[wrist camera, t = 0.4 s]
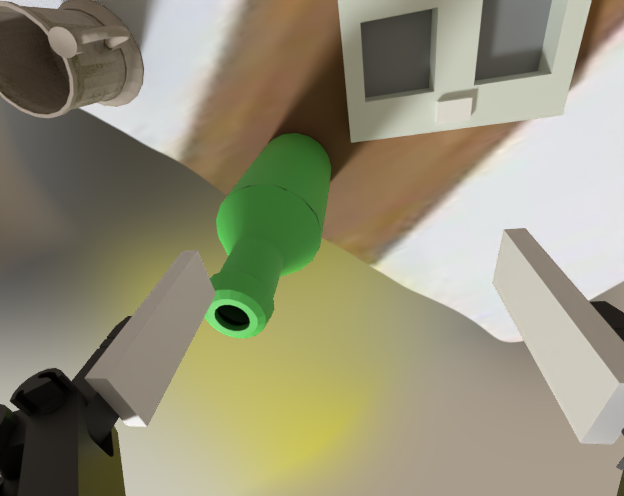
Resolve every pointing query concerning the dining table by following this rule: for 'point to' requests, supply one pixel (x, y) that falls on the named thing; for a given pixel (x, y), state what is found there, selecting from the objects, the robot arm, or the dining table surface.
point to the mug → (66, 58)
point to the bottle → (268, 231)
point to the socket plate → (456, 62)
